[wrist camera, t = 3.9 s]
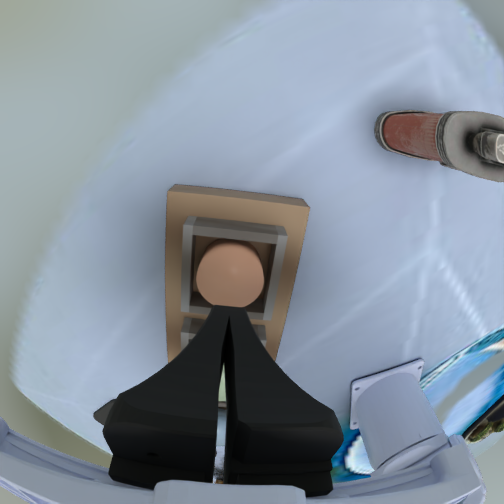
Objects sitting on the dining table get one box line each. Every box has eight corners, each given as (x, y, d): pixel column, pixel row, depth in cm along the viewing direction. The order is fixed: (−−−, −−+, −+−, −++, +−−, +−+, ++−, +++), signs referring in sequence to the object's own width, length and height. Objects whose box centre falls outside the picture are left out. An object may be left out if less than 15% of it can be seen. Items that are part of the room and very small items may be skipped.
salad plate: (533, 387, 36) (542, 399, 31) (480, 439, 41) (487, 452, 37) (518, 374, 31) (530, 390, 27) (451, 439, 37) (459, 456, 33)
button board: (254, 415, 27) (256, 443, 24) (176, 408, 26) (171, 436, 23) (303, 199, 18) (316, 215, 15) (175, 184, 17) (160, 197, 14)
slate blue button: (235, 431, 23) (235, 447, 21) (194, 427, 22) (192, 443, 21) (239, 409, 21) (239, 427, 19) (194, 405, 21) (192, 423, 19)
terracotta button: (257, 295, 18) (258, 311, 16) (198, 289, 18) (194, 305, 16) (266, 241, 17) (268, 253, 15) (202, 234, 16) (198, 246, 15)
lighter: (374, 155, 17) (480, 190, 8) (373, 104, 16) (483, 99, 7) (462, 163, 17) (563, 200, 8) (463, 120, 16) (567, 138, 7)
